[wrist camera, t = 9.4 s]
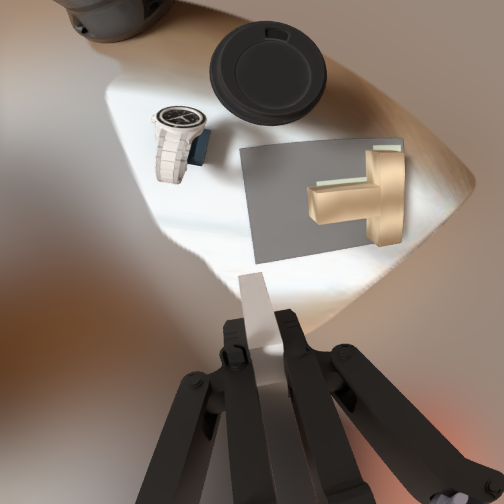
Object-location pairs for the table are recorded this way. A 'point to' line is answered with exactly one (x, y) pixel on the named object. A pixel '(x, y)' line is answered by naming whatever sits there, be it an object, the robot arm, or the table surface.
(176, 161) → the watch
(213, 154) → the table surface
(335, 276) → the table surface
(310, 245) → the mat
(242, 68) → the coffee cup
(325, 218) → the t block
